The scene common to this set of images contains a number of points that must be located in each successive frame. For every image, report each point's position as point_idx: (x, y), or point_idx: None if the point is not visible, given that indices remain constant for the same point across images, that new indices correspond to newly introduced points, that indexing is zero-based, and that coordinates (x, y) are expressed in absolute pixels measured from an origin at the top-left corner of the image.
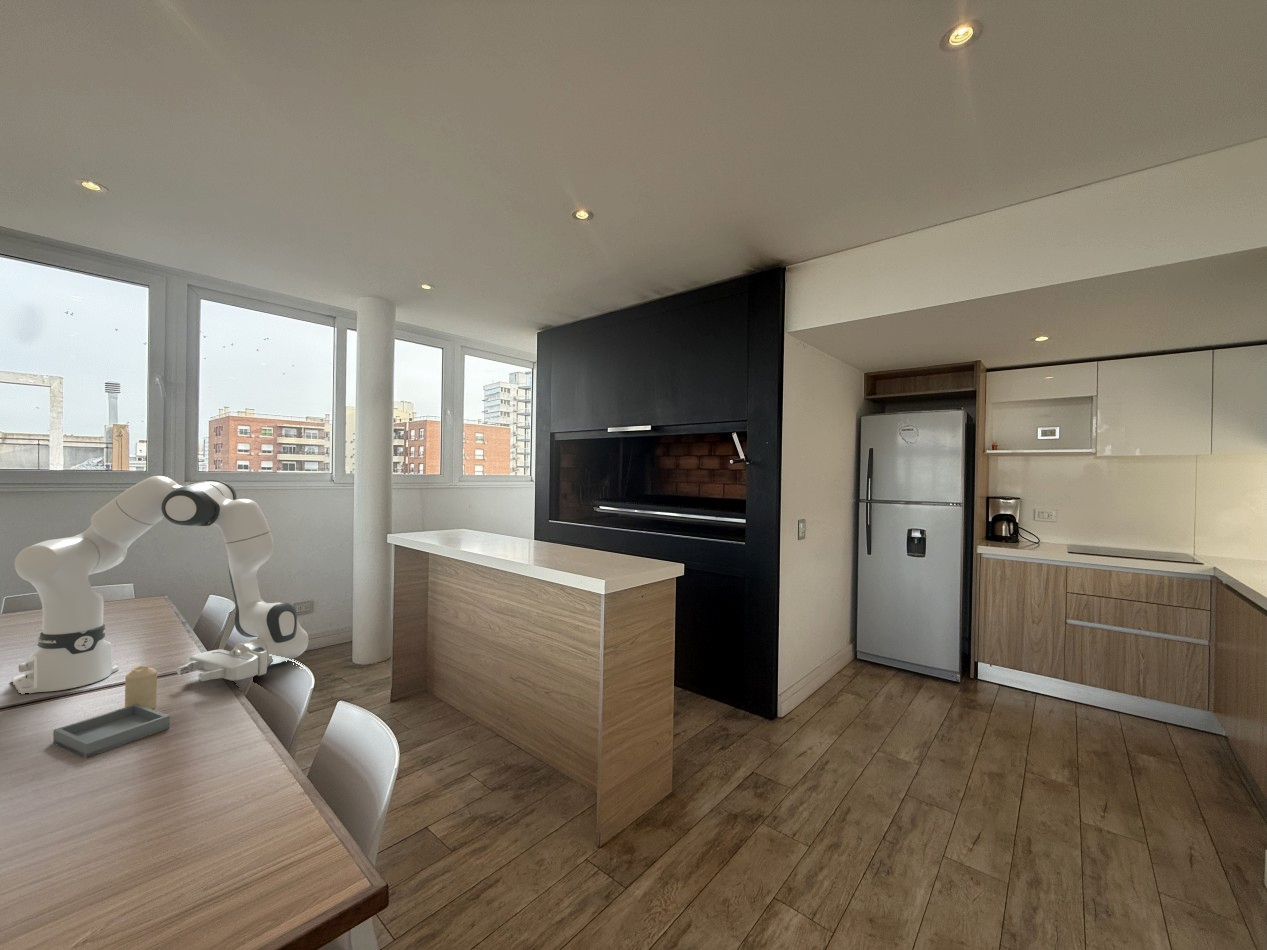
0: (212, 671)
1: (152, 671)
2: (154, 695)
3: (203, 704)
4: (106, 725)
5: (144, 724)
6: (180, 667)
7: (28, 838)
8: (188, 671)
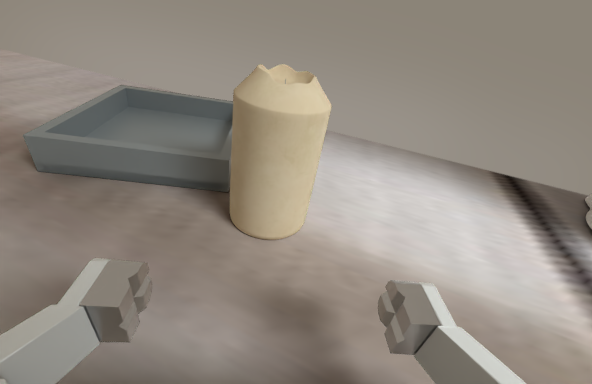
0: (37, 323)
1: (246, 88)
2: (235, 186)
3: (39, 300)
4: (217, 146)
5: (66, 114)
6: (416, 285)
7: (13, 56)
8: (431, 377)
